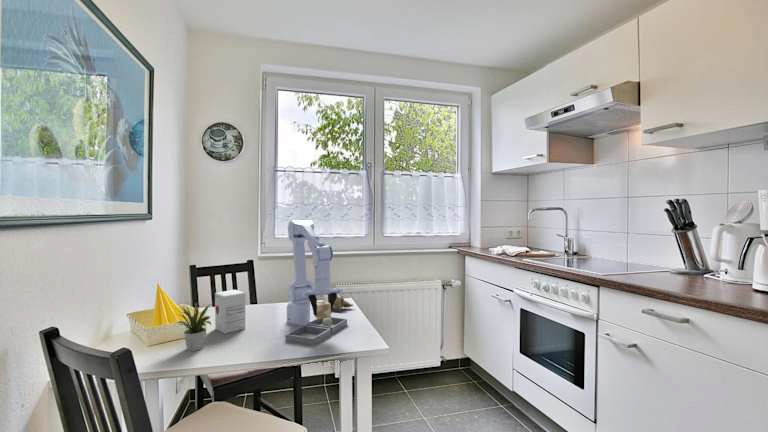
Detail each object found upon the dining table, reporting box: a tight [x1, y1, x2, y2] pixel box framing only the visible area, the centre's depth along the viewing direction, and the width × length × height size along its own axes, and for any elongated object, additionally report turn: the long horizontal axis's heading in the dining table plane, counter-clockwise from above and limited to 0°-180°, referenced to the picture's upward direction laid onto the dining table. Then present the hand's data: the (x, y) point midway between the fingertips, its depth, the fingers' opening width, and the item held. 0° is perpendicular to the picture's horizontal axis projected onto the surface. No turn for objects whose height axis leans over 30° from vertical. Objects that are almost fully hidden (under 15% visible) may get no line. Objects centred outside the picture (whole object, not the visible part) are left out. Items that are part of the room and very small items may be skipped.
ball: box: [322, 318, 332, 327], centre depth 151 cm, size 4×4×4 cm
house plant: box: [175, 300, 212, 352], centre depth 129 cm, size 14×14×16 cm
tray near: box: [284, 324, 332, 347], centre depth 139 cm, size 12×12×3 cm
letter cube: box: [314, 301, 332, 319], centre depth 139 cm, size 5×5×5 cm
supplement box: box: [214, 289, 246, 334], centre depth 151 cm, size 9×9×15 cm
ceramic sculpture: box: [322, 294, 354, 312], centre depth 181 cm, size 11×9×15 cm
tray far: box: [305, 316, 348, 335], centre depth 151 cm, size 12×12×3 cm
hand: (322, 314), depth 139 cm, fingers closed on letter cube, 5 cm apart
